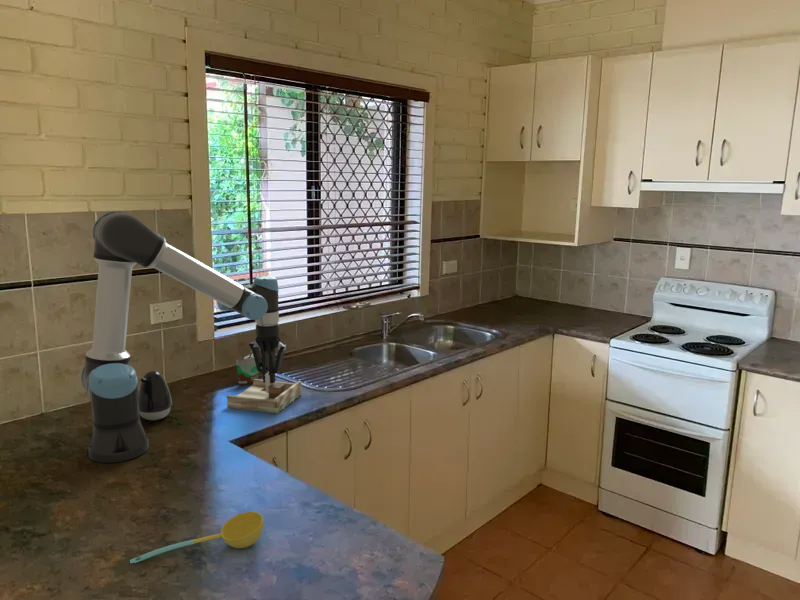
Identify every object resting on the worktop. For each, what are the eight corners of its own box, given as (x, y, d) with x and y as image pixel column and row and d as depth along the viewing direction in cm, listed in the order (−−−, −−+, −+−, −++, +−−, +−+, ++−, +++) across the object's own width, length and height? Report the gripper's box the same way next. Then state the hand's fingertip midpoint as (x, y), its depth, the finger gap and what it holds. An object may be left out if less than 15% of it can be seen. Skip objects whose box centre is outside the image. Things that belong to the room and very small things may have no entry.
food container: (252, 388, 221) (251, 361, 219) (236, 386, 222) (235, 360, 220) (266, 377, 232) (266, 351, 230) (251, 375, 234) (250, 350, 232)
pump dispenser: (130, 422, 190) (126, 374, 187) (151, 409, 200) (147, 364, 197) (159, 425, 188) (156, 377, 184) (179, 412, 197) (176, 367, 194)
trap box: (277, 414, 197) (276, 399, 196) (227, 407, 202) (226, 393, 201) (301, 395, 214) (301, 381, 213) (254, 389, 219) (254, 376, 218)
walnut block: (279, 399, 204) (279, 388, 204) (268, 398, 206) (268, 386, 205) (285, 395, 208) (284, 384, 207) (274, 394, 209) (274, 382, 208)
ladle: (270, 547, 127) (263, 524, 125) (136, 598, 120) (126, 574, 118) (265, 523, 135) (258, 501, 133) (139, 569, 128) (130, 547, 126)
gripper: (290, 322, 204) (292, 390, 209) (255, 319, 208) (257, 386, 213) (280, 327, 197) (282, 397, 202) (243, 324, 201) (246, 393, 205)
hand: (269, 391), depth 207 cm, fingers closed
